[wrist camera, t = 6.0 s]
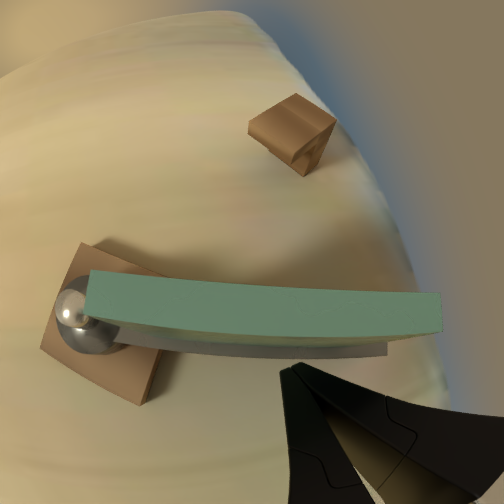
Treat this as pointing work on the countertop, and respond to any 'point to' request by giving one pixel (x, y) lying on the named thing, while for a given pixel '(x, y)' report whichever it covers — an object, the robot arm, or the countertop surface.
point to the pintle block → (113, 365)
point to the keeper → (294, 132)
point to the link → (237, 318)
